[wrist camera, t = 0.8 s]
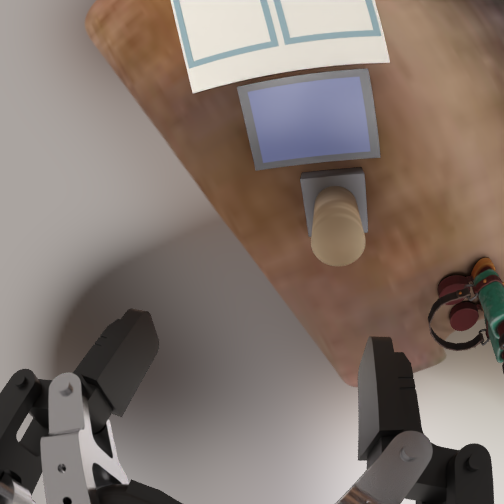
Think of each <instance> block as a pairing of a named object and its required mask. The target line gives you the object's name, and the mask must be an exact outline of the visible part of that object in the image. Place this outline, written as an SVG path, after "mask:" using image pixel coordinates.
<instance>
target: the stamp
mask: <svg viewBox="0 0 504 504" xmlns="http://www.w3.org/2000/svg"><path fill="white" fill-rule="evenodd" d="M300 182H301V188H302V194H303V200H304V207H305V214H306V220H307V227H308V234H309V237H311V247H312V250H313V252H314V254H315V256H316V257H317V258H318V259H319V260H320V261H322V262H323V263H325V264H328V265H331V266H345V265H348V264H351V263H353V262H354V261H356V260H357V259H358V258H359V257H360V256H361V254H362V253H363V251H364V248H365V235H364V233H366V232H368V219H367V202H366V188H365V176H364V172H363V170H362V167H356V168H344V169H333V170H323V171H313V172H304V173H302V174H301V178H300Z"/></svg>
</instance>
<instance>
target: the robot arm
mask: <svg viewBox="0 0 504 504" xmlns="http://www.w3.org/2000/svg"><path fill="white" fill-rule="evenodd" d="M158 349H159V339H158V336H157V333H156V330H155V327H154V324H153V321H152V318H151V315H150V313H149V312H147V311H142V310H137V309H129V310H128V311H127V312H126V313H125V314H124V316H123V317H122V318H121V319H117V320H116V321H115V322H113V323H112V324H110V325H109V326H108V327H107V328H106V329H105V330H104V332H103V333H102V334H101V337H100V338H98V340H97V341H96V342H95V345H93V346H92V348H91V349H90V350H89V352H88V353H87V354H86V356H85V357H84V358H83V360H82V361H81V363H80V364H79V365H78V367H77V368H76V370H75V371H74V372H73V373H63V374H60V375H59V376H57V377H56V378H54V380H42V379H38V378H37V377H36V376H35V374H34V373H33V372H32V371H31V370H29V369H22V370H19V371H17V372H16V373H15V374H14V375H13V376H12V377H11V379H10V380H9V382H8V383H7V384H6V386H5V387H4V389H3V390H2V392H1V393H0V504H36V503H35V501H34V500H32V497H31V495H32V493H33V491H34V489H35V486H36V484H37V482H38V480H39V478H40V475H41V473H42V472H43V481H44V488H45V495H46V502H47V504H182V503H180V502H179V501H177V500H175V499H173V498H172V497H170V496H168V495H167V494H165V493H164V492H162V491H160V490H158V489H155V488H152V487H149V486H147V485H144V484H142V483H138V482H136V481H134V480H131V482H130V483H129V481H128V478H127V476H126V474H125V472H124V470H123V468H122V467H121V465H120V463H119V460H118V456H117V452H116V448H115V443H114V438H113V434H112V429H111V424H110V420H109V417H110V415H111V413H112V414H115V415H117V416H120V417H122V416H123V414H124V412H125V410H126V408H127V406H128V405H129V403H130V401H131V399H132V397H133V396H134V394H135V392H136V390H137V388H138V387H139V385H140V383H141V381H142V379H143V378H144V376H145V374H146V372H147V370H148V369H149V367H150V365H151V363H152V361H153V360H154V358H155V356H156V354H157V352H158ZM358 400H359V402H358V403H359V441H358V442H359V443H358V460H367V470H366V471H365V473H364V474H363V475H362V476H361V477H360V478H359V479H358V480H357V482H356V483H355V484H354V485H353V486H352V487H351V488H350V489H349V490H348V491H347V492H346V493H345V494H344V495H343V496H342V497H341V498H340V499H339V500H338V501H337V502H336V503H335V504H400V503H401V502H402V501H403V499H404V498H406V499H411V500H416V504H494V495H493V494H494V493H493V476H492V464H491V457H490V454H489V452H488V451H487V449H486V448H485V447H483V446H482V445H479V444H469V445H466V446H465V447H463V448H462V449H461V450H454V449H449V448H444V447H440V446H436V445H434V444H433V443H431V442H430V440H429V439H428V438H427V437H426V436H425V435H424V434H423V431H422V427H421V420H420V414H419V408H418V407H419V406H418V400H417V394H416V390H415V383H414V379H413V372H412V367H411V363H410V362H409V360H408V359H407V357H406V356H405V354H404V353H403V352H394V349H393V344H392V339H391V338H390V337H369V338H368V341H367V344H366V347H365V350H364V354H363V357H362V360H361V363H360V366H359V372H358ZM28 413H29V414H30V415H31V416H33V420H32V422H31V423H30V425H29V427H28V429H27V430H26V432H25V434H24V436H23V438H22V439H21V441H20V442H18V441H17V439H16V434H17V431H18V429H19V428H20V426H21V424H22V423H23V421H24V419H25V418H26V416H27V414H28Z"/></svg>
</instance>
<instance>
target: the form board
mask: <svg viewBox="0 0 504 504" xmlns="http://www.w3.org/2000/svg"><path fill="white" fill-rule="evenodd" d="M171 4H172V8H173V12H174V17H175V21H176V25H177V30H178V34H179V38H180V42H181V47H182V51H183V55H184V59H185V63H186V68H187V72H188V76H189V80H190V84H191V88H192V92H193V93H197V92H201V91H204V90H208V89H211V88H215V87H219V86H223V85H227V84H231V83H235V82H239V81H244V80H248V79H253V78H258V77H263V76H268V75H273V74H279V73H285V72H291V71H298V70H305V69H312V68H320V67H329V66H340V65H353V64H371V63H390V60H389V55H388V51H387V46H386V42H385V37H384V33H383V29H382V25H381V22H380V18H379V14H378V11H377V7H376V4H375V0H171Z"/></svg>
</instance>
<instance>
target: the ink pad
mask: <svg viewBox="0 0 504 504" xmlns="http://www.w3.org/2000/svg"><path fill="white" fill-rule="evenodd" d="M237 90H238V94H239V98H240V103H241V107H242V111H243V116H244V120H245V124H246V129H247V133H248V138H249V142H250V147H251V151H252V156H253V160H254V165H255V169H256V170H263V169H270V168H278V167H285V166H293V165H302V164H311V163H320V162H330V161H340V160H352V159H365V158H380V147H379V138H378V129H377V121H376V114H375V107H374V100H373V94H372V88H371V82H370V77H369V71H368V69H354V70H341V71H330V72H321V73H313V74H305V75H298V76H291V77H285V78H279V79H274V80H268V81H263V82H258V83H253V84H248V85H244V86H239V87H237Z"/></svg>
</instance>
